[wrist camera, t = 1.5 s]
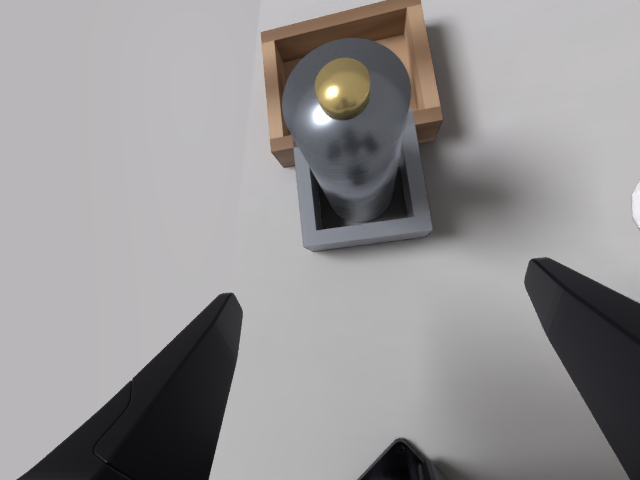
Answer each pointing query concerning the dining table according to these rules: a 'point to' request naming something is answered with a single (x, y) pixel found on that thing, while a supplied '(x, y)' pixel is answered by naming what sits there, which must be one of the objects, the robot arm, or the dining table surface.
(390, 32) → the wooden tray
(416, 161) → the tray
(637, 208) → the white cup
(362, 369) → the dining table surface
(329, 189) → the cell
